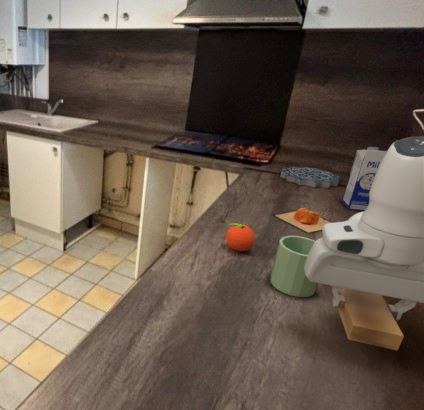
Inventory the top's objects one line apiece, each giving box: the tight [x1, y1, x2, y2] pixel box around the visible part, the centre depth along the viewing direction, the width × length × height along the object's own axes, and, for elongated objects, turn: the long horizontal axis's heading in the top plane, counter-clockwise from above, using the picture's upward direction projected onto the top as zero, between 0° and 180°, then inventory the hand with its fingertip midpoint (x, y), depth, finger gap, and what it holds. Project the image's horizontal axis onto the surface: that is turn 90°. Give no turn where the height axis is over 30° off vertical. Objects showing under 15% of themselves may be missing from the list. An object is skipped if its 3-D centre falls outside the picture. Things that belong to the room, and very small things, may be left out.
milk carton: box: [341, 146, 388, 212], centre depth 115 cm, size 7×7×20 cm
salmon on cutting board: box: [274, 207, 332, 233], centre depth 108 cm, size 12×12×4 cm
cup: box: [269, 235, 319, 298], centre depth 78 cm, size 9×9×10 cm
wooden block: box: [332, 288, 405, 351], centre depth 62 cm, size 6×13×3 cm, turn 157°
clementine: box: [224, 222, 256, 252], centre depth 93 cm, size 8×7×7 cm
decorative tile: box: [279, 165, 340, 189], centre depth 143 cm, size 20×20×2 cm
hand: (363, 311), depth 62 cm, fingers closed on wooden block, 6 cm apart
